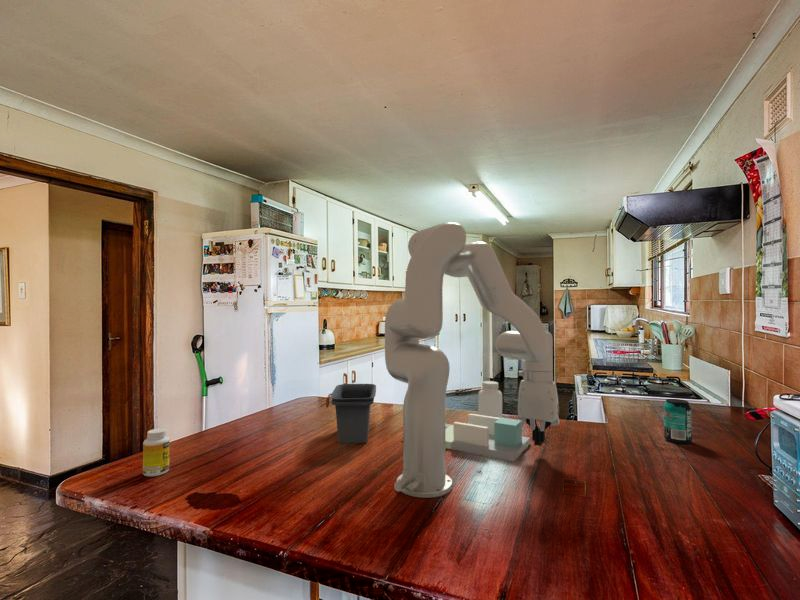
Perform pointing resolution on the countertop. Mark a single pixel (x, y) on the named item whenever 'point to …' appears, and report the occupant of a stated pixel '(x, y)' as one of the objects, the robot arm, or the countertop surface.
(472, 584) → the countertop surface
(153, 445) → the supplement bottle
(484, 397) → the pill bottle
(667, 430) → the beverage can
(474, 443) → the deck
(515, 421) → the teal block
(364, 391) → the storage bin
